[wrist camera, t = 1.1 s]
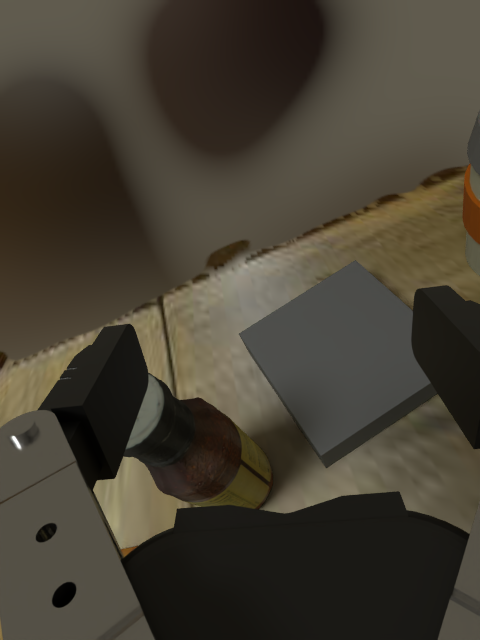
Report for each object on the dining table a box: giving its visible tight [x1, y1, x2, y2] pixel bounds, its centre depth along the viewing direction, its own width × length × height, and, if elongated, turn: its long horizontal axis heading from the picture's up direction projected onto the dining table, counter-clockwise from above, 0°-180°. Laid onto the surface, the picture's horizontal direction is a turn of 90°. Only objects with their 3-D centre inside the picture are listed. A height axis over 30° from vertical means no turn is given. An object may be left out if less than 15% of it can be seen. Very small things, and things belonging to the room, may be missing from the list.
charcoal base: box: [239, 260, 438, 468], centre depth 36 cm, size 14×14×4 cm
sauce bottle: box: [123, 373, 273, 509], centre depth 27 cm, size 6×6×20 cm
